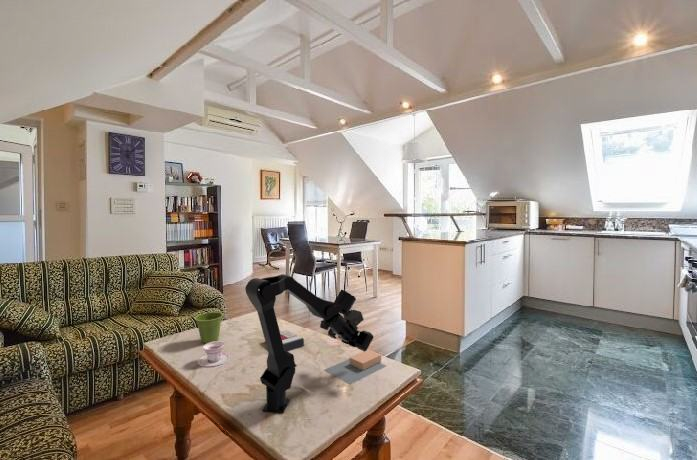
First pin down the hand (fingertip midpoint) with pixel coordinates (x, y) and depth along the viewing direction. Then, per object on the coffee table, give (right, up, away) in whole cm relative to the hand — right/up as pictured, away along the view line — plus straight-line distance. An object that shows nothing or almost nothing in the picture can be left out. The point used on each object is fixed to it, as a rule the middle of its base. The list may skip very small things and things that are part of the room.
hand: (361, 346), depth 127 cm
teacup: (-57, -8, +7) cm, 58 cm away
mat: (-2, -8, -2) cm, 8 cm away
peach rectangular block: (-2, -6, -2) cm, 6 cm away
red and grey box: (-33, -7, +22) cm, 40 cm away
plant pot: (-67, -7, +26) cm, 72 cm away
